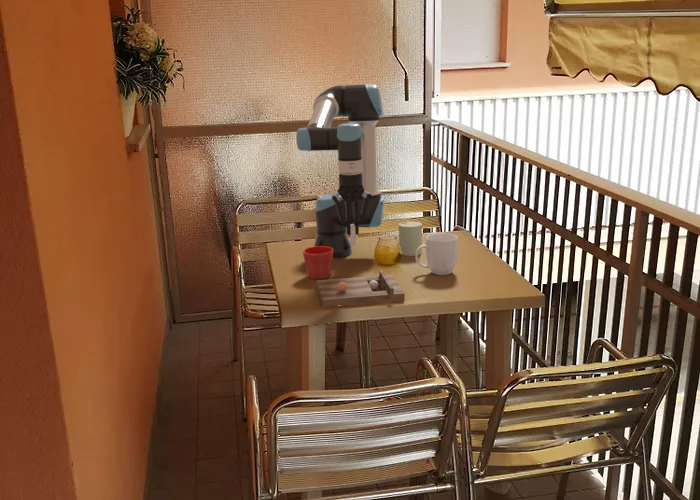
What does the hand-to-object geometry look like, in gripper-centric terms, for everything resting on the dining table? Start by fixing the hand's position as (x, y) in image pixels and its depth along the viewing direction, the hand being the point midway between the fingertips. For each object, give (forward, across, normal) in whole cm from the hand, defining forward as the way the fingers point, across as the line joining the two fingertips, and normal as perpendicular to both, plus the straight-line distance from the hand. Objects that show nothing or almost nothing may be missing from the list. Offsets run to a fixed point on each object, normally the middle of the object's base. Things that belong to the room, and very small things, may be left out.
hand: (353, 244), depth 237 cm
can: (+17, +28, +40) cm, 52 cm away
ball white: (+15, +6, 0) cm, 16 cm away
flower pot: (+17, -10, +20) cm, 27 cm away
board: (+16, +1, -4) cm, 17 cm away
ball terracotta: (+12, -5, -7) cm, 15 cm away
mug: (+17, +32, +12) cm, 38 cm away
